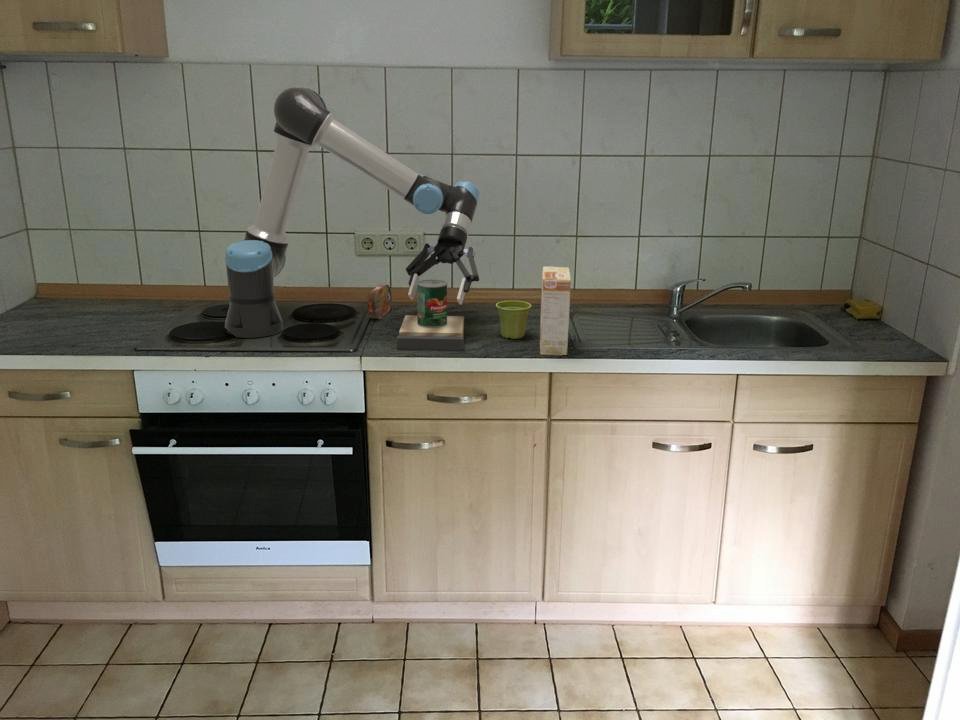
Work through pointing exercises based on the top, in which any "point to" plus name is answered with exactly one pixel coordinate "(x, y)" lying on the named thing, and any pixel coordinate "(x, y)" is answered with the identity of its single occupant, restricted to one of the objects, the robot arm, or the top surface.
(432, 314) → the canned tomato
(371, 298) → the orange brown packet
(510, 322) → the plant pot
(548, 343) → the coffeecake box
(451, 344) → the block
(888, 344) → the top surface
